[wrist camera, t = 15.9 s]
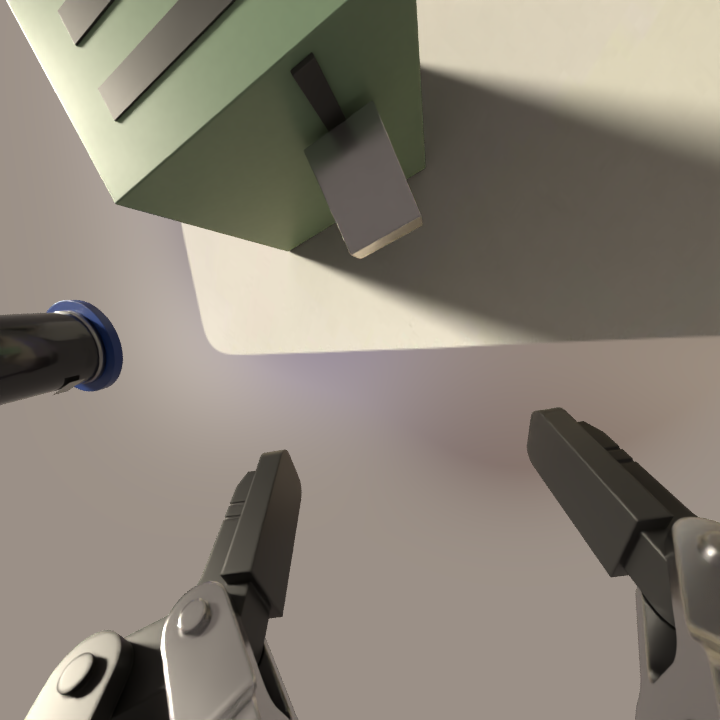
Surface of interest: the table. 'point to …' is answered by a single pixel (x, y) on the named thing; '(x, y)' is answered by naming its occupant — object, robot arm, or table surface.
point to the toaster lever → (364, 183)
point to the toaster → (227, 99)
